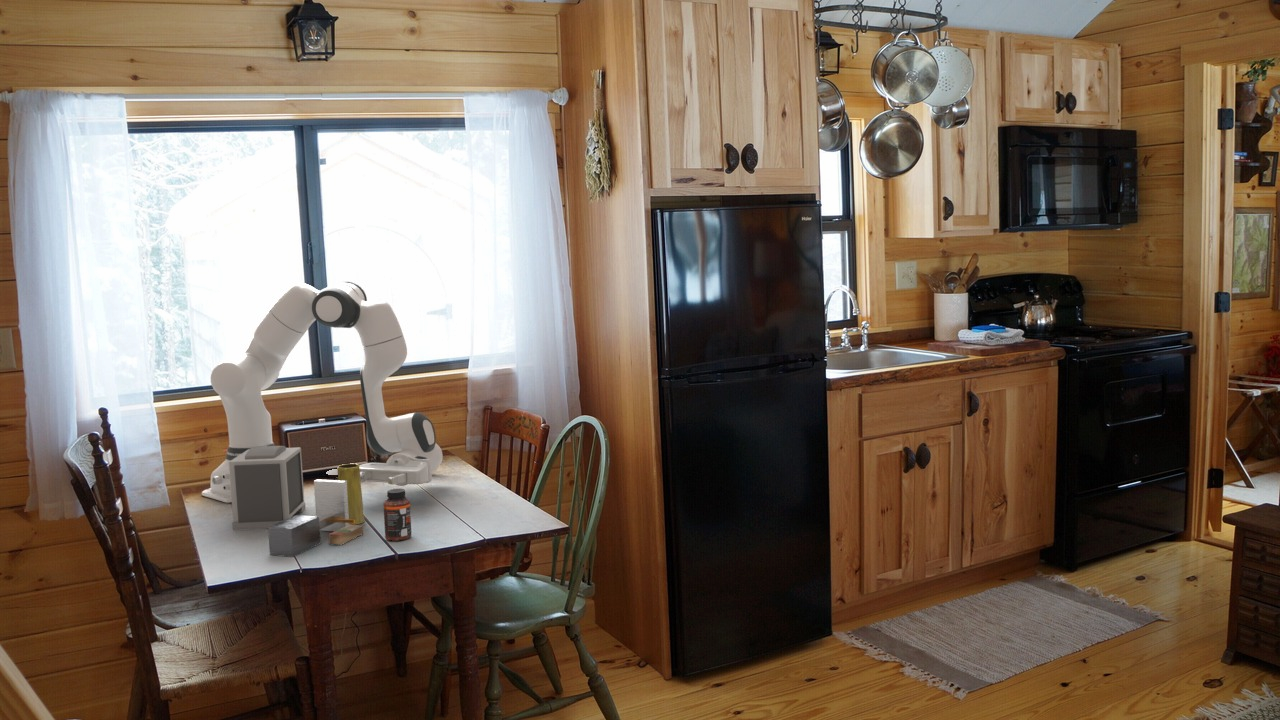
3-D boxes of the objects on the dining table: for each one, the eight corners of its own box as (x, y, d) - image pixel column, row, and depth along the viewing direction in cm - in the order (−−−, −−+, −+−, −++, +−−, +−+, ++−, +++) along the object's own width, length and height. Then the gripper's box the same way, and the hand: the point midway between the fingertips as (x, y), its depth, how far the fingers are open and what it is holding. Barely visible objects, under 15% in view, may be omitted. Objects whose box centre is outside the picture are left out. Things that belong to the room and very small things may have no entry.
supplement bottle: (412, 540, 230) (410, 492, 229) (385, 543, 228) (383, 494, 227) (410, 533, 236) (408, 486, 234) (384, 536, 234) (382, 488, 233)
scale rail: (329, 544, 228) (328, 534, 228) (352, 533, 237) (351, 523, 237) (340, 545, 227) (340, 535, 227) (363, 534, 236) (362, 524, 236)
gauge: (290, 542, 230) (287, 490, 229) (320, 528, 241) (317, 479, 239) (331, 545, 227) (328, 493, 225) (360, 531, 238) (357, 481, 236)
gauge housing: (270, 554, 222) (268, 527, 221) (298, 541, 231) (296, 515, 230) (293, 556, 220) (291, 528, 219) (320, 543, 229) (318, 516, 229)
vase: (355, 526, 242) (351, 469, 241) (333, 525, 244) (330, 467, 243) (369, 520, 248) (366, 463, 247) (348, 518, 250) (345, 462, 248)
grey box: (254, 510, 261) (249, 441, 259) (306, 508, 262) (302, 439, 259) (231, 530, 242) (225, 455, 240) (287, 527, 243) (282, 453, 241)
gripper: (368, 455, 272) (338, 466, 258) (435, 458, 265) (408, 470, 252) (369, 478, 272) (339, 490, 259) (437, 481, 266) (409, 494, 253)
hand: (374, 480), depth 256 cm, fingers open, 8 cm apart
